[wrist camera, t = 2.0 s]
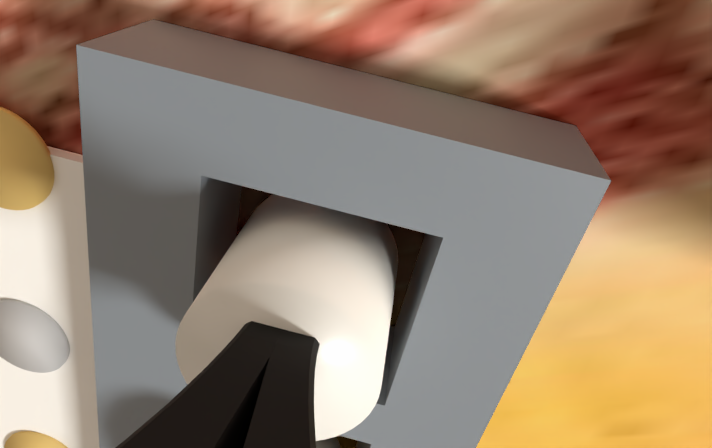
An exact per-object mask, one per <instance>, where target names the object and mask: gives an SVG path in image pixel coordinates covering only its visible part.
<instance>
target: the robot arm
mask: <svg viewBox="0 0 712 448" xmlns="http://www.w3.org/2000/svg"><path fill="white" fill-rule="evenodd" d="M319 345H320V343H319V342H318V341H317V339H316V338H315V337H311V336H307V335H303V334H300V333H296V332H292V331H288V330H284V329H280V328H277V327H273V326H269V325H265V324H261V323H258V322H254V321H250V322H248V323H246V324H245V325H244V326H243V327H242V328H241V330H240V331H239V332H238V333H237V334H236V336H235V337H234V338H233V339H232V340H231V341H230V342H229V343H228V345H227V346H226V347H225V348H224V349H223V350H222V351H221V352H220V353H219V354H218V355H217V356H216V357H215V358H214V359H213V360H212V361H211V362H210V363H209V364H208V366H207V367H206V368H205V369H204V370H203V371H202V372H201V373H199V374H198V375H197V376H196V377H195V378H194V379H193V380H192V381H191V382H190V383H189V384H188V385H187V386H186V387H185V388H184V389H183V390H182V391H181V392H179V393H178V394H177V395H176V396H175V397H174V398H173V399H172V400H171V401H170V402H169V403H168V404H166V405H165V406H164V407H163V408H162V409H161V410H160V411H158V412H157V413H156V414H155V415H154V416H153V417H151V418H150V419H149V420H148V421H147V422H145V423H144V424H143V425H142V426H141V427H140V428H138V429H137V430H136V431H135V432H134V433H133V434H131V435H130V436H129V437H128V438H127V439H125V440H124V441H123V442H122V443H120V444H119V445H118V446H117V447H115V448H316V437H315V419H314V379H315V367H316V359H317V354H318V349H319Z"/></svg>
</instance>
